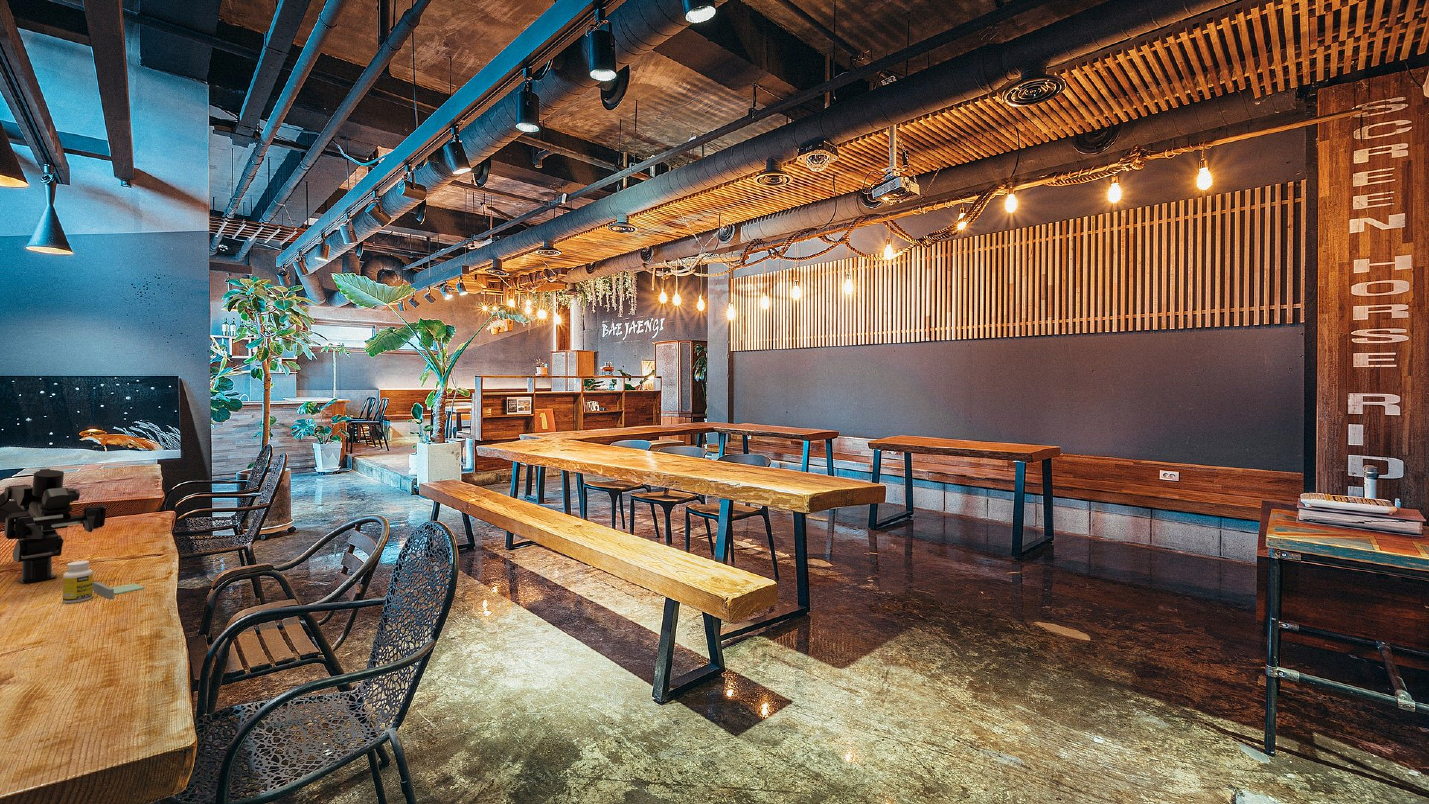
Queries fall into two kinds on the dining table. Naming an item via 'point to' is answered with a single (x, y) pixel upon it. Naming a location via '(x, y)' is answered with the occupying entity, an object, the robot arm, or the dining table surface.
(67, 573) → the supplement bottle
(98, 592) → the acrylic wall
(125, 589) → the coaster
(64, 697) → the dining table surface
